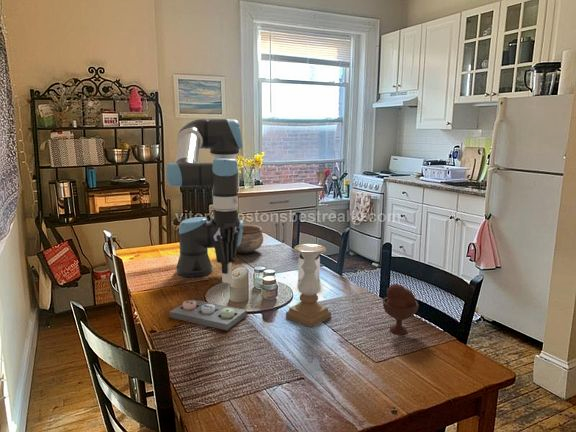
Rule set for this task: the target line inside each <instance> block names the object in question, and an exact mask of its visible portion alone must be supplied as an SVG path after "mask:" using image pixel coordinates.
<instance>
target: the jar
mask: <svg viewBox="0 0 576 432" xmlns="http://www.w3.org/2000/svg"><path fill="white" fill-rule="evenodd" d="M298 254H299V253H298ZM303 263H304V258H303V256H302V254H299V256H298V268H297V269H298V270H297V271H298V272H297V278H298V281H301V279H302V278H303V276H304V271H303V269H302V265H303ZM315 263H316V265H317V269H316V271H315V273H314V274H315V277H316V279H317V280H318V281H319V279H320V274H321V273H320V272H321V271H320V269H321V268H320V266H321V265H320V263H321V257H320V254H318V256H317V257H316V259H315Z"/></svg>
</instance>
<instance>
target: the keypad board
mask: <svg viewBox="0 0 576 432" xmlns="http://www.w3.org/2000/svg"><path fill="white" fill-rule="evenodd" d="M190 300H193V301H196V308H195V309H194V310H192V311H189V310H184V309H183V303H181V305H179V306H177V307H176V308H173V309H172V310H170V311H169V318H172V319H175V320H180V321H185V322H189V323H192V324H193V323H194V324H197V325H202V326H206V327H211V328H214V329H219V330H224V331H228V330H230V329H231V328H232V327H234V326H235V325H236V324H238V323H239V322H240V321H242V320H243V319H244V318H246V317H247V310H246V309H241V308H238V307H232V306H229V305H228V306H227V305H223V304H217V303H213V302H209V301H208V302H207V301H204V300H199V299H198V300H196V299H193V298H192V299H190ZM205 304H213V305H215V312H214V313H213V314H211V315H207V314H203V313H202V311H201V307H202V306H203V305H205ZM224 308H232V309H234V310H235V316H234V317H233V318H232V319H226V318H221V310H222V309H224Z"/></svg>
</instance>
